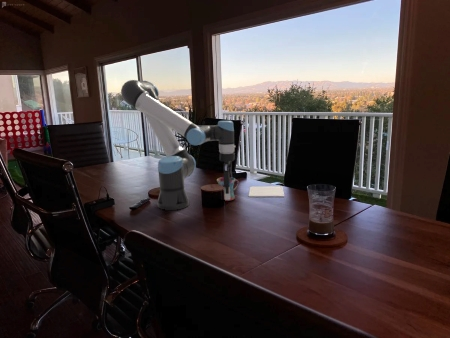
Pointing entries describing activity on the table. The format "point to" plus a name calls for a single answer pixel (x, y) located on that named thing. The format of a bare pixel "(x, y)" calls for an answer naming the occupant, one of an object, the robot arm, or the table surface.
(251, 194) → the placemat
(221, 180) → the mug
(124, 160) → the table surface
